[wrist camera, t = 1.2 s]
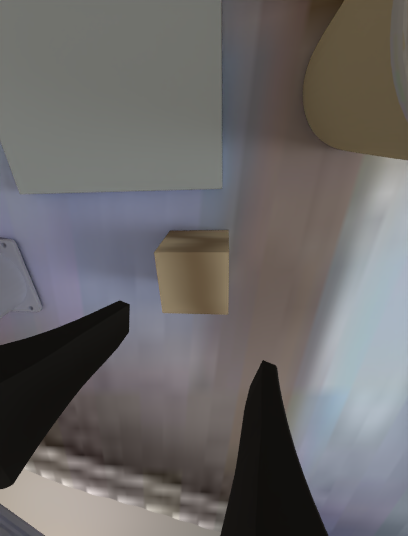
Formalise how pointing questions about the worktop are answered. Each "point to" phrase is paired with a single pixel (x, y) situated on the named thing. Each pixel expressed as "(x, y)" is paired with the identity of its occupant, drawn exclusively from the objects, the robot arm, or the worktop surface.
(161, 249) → the maple cube
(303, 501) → the robot arm
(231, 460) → the worktop surface
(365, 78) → the coffee cup
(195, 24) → the gray board
